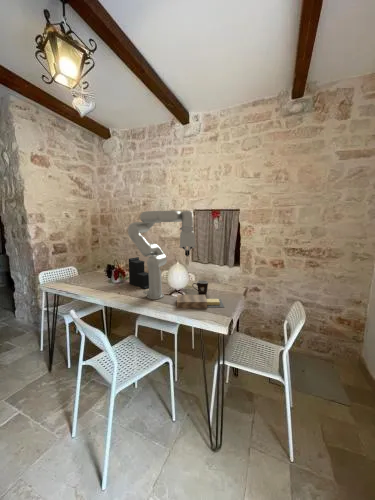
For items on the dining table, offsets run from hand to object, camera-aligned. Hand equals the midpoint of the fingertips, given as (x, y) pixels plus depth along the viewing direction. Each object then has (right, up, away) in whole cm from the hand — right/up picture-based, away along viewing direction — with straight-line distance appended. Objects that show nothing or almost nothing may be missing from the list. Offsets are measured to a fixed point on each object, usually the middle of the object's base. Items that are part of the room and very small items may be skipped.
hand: (187, 256), depth 150 cm
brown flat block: (+3, -33, +2) cm, 33 cm away
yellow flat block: (+18, -33, +2) cm, 37 cm away
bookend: (-41, -27, +44) cm, 66 cm away
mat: (+19, -33, +2) cm, 38 cm away
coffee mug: (+11, -31, +22) cm, 39 cm away
